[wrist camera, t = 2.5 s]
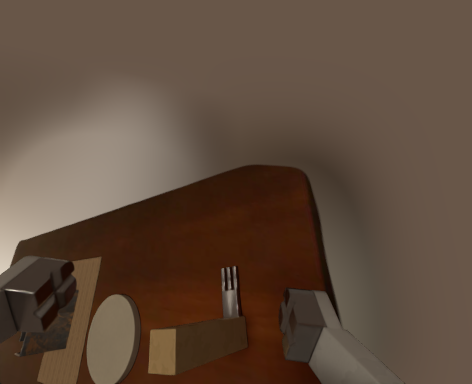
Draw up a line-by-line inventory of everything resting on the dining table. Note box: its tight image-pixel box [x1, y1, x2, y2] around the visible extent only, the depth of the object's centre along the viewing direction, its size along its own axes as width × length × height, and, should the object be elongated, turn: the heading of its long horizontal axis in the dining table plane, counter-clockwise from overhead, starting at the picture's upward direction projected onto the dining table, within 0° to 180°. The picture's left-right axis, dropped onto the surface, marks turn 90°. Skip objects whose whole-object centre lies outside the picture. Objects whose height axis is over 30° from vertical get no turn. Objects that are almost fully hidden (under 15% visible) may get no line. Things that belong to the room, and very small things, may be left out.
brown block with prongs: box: [148, 266, 248, 375], centre depth 27 cm, size 10×3×12 cm, turn 6°
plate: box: [87, 294, 141, 384], centre depth 42 cm, size 14×14×1 cm
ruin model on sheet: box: [15, 257, 101, 384], centre depth 49 cm, size 25×16×10 cm, turn 1°
